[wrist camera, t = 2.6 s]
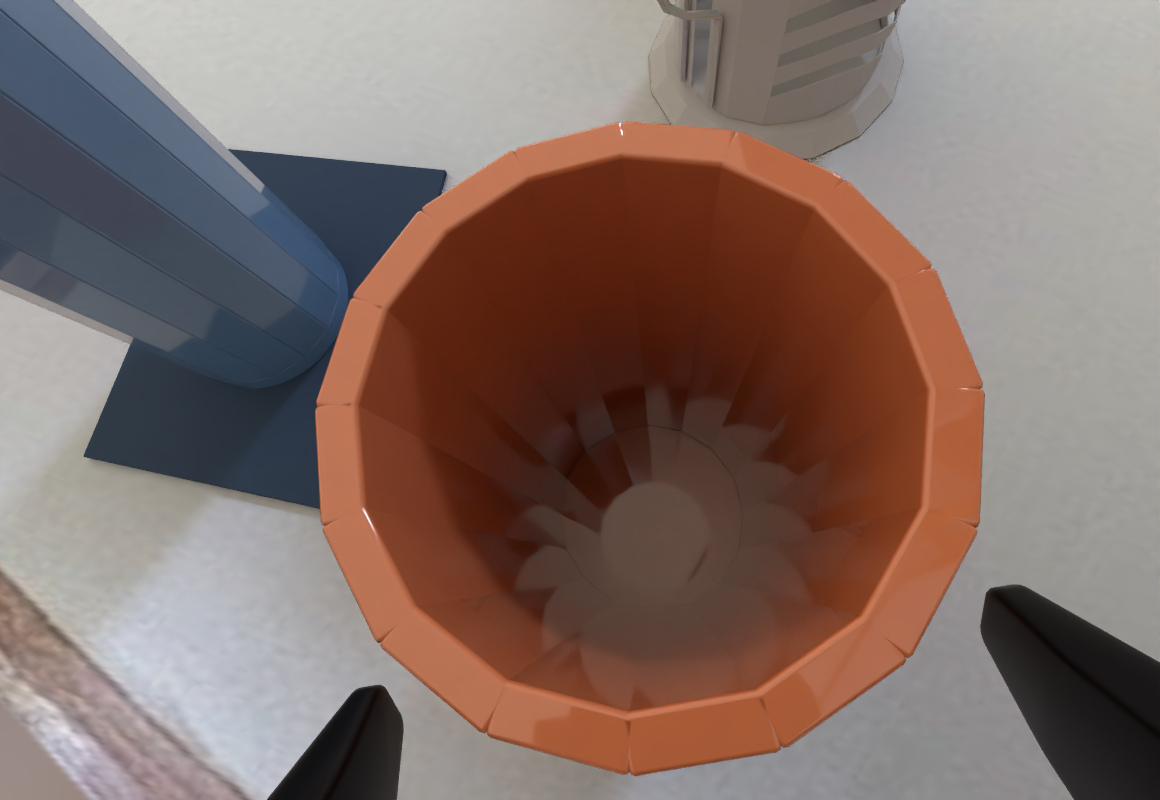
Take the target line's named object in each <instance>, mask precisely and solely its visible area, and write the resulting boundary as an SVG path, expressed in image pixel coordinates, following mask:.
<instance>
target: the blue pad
mask: <svg viewBox="0 0 1160 800" xmlns="http://www.w3.org/2000/svg"><path fill="white" fill-rule="evenodd" d="M228 150H229V151H230V152H231V153H232V154H233V155H234V156H235V157H236V158H237V159H238V160H239V161H240V162H241V163H242V164H243V165H244V166H245V167H246V168H248V169H249V170H250V171H251V172H252V173H253V174H254V175H255V176H256V177H257V178H258V179H259V180H260V181H261V182H262V183H263V184H264V185H265V186H266V187H267V188H268V189H269V190H270V191H271V192H272V193H273V194H274V195H275V196H277V197H278V198H279V199H280V200H281V201H282V202H283V203H284V204H285V205H286V206H287V207H288V208H289V209H290V210H291V211H292V212H293V213H294V214H295V215H296V216H297V217H298V218H299V219H300V220H301V221H302V222H303V223H304V224H306V225H307V226H308V227H309V228H310V229H311V230H312V231H313V232H314V233H315V234H316V235H317V236H318V237H319V238H320V239H321V240H322V241H323V242H324V244H325V246H326V247H327V248H328V249H329V250H330V251H331V252H332V253H333V254H334V255H335V256H336V258H337V259H338V260H339V262H340V264H341V266H342V268H343V270H344V272H345V276H346V279H347V285H348V304H349V301H350V300H351V299H353V298H354V297H353V294H354V292H355V291H356V289H357V288H358V287H359V286H360V284H361V283H362V282H363V281H364V279H365V278H366V277H367V275H368V274H369V273H370V272H371V270H372V269H373V268H374V267H375V265H376V264H377V263H378V262H379V260H380V259H381V258H382V256H383V255H384V254H385V253H386V251H387V250H388V249H389V248H390V246H391V245H392V244H393V242H394V241H395V240H396V239H397V237H398V236H399V235H400V234H401V232H402V231H403V230H404V229H405V227H406V226H407V225H408V223H409V222H410V221H411V220H412V218H413V217H414V216H415V215H416V213H417V212H419V211H422V208H423V207H424V206H425V205H426V204H428V203H429V202H431V201H432V200H434V199H436V198H437V197H439V196H440V194H441V191H442V188H443V184H444V181H445V178H446V174H447V173H446V171H445V170H436V169H426V168H416V167H406V166H396V165H385V164H375V163H365V162H355V161H344V160H334V159H324V158H314V157H304V156H293V155H283V154H273V153H263V152H253V151H242V150H232V149H228ZM347 307H348V306H347ZM337 337H338V336H337ZM337 337H336V339H335V341H334V342H333V344H332V345H331V347H330V348H329V350H328V351H327V352H326V353H325V354H324V355H323V356H322V358H321V359H320V360H318V361H317V362H316V363H315V364H314V365H313V366H312V367H311V368H309V369H308V370H306V371H305V372H304V373H302V374H300V375H299V376H297V377H295V378H293V379H291V380H289V381H287V382H284V383H282V384H278V385H275V386H272V387H265V388H254V389H249V388H240V387H236V386H232V385H229V384H227V383H224V382H222V381H220V380H216V379H211V378H209V377H206V376H204V375H201V374H199V373H197V372H194V371H192V370H190V369H187V368H185V367H182V366H180V365H178V364H175V363H173V362H171V361H168V360H166V359H163V358H161V357H159V356H156V355H154V354H152V353H149V352H147V351H144V350H142V349H140V348H137V347H135V346H133V345H130V347H129V349H128V352H127V354H126V357H125V359H124V361H123V364H122V366H121V368H120V371H119V373H118V376H117V378H116V380H115V383H114V385H113V387H112V390H111V392H110V395H109V397H108V399H107V402H106V404H105V406H104V409H103V411H102V414H101V416H100V418H99V421H98V423H97V425H96V428H95V430H94V432H93V435H92V437H91V440H90V442H89V444H88V447H87V449H86V451H85V454H84V457H87V458H92V459H96V460H101V461H106V462H110V463H115V464H119V465H124V466H128V467H133V468H138V469H142V470H147V471H151V472H156V473H160V474H165V475H169V476H174V477H179V478H183V479H188V480H192V481H197V482H201V483H206V484H210V485H215V486H220V487H224V488H229V489H233V490H238V491H242V492H247V493H252V494H256V495H261V496H265V497H270V498H274V499H279V500H283V501H288V502H293V503H297V504H302V505H306V506H311V507H315V508H320V495H319V476H318V457H317V439H316V420H315V410H316V408H317V407H318V406H317V403H316V401H317V398H318V395H319V392H320V389H321V386H322V383H323V380H324V377H325V374H326V371H327V367H328V364H329V361H330V358H331V355H332V352H333V349H334V346H335V343H336V340H337Z"/></svg>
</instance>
